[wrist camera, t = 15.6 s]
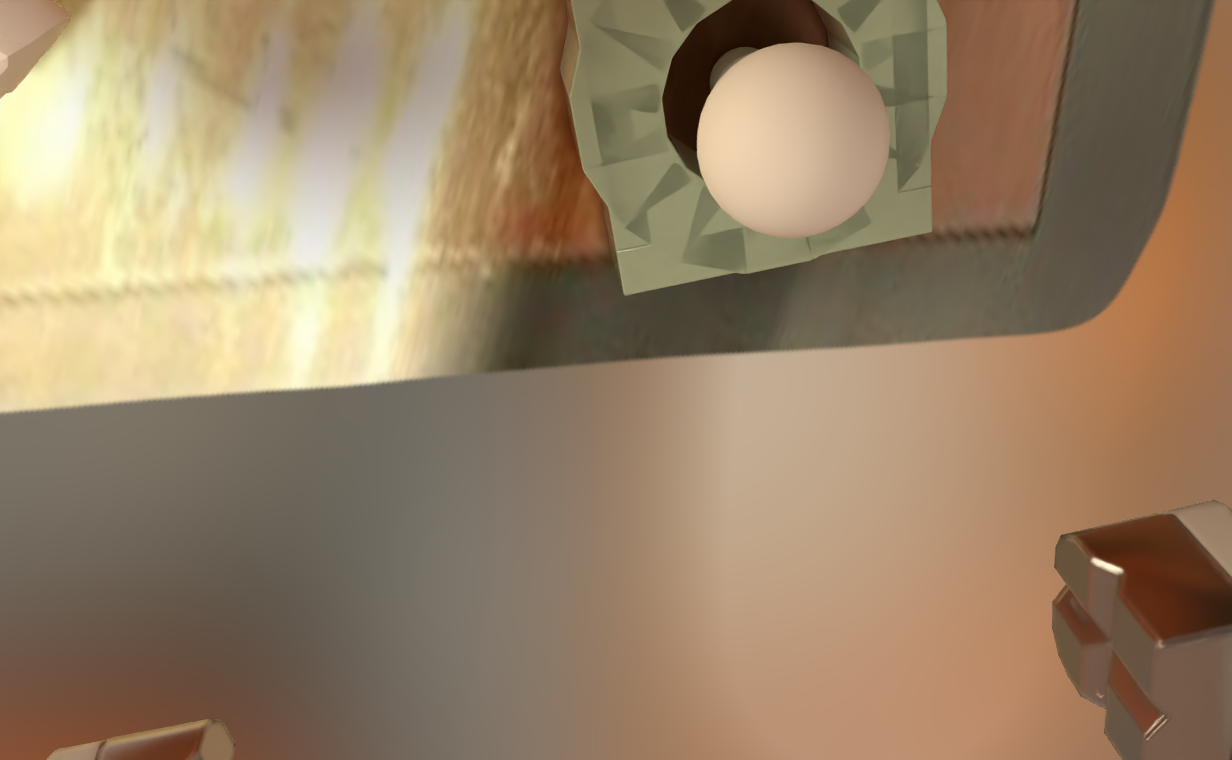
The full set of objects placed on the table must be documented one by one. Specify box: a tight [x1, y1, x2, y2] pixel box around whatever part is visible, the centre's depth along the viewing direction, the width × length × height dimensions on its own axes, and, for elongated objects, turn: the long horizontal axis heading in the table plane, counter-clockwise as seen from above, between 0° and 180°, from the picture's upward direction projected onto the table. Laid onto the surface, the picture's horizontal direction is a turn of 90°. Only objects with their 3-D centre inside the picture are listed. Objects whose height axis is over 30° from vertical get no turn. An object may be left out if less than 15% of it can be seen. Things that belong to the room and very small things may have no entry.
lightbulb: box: [697, 43, 890, 238], centre depth 38 cm, size 6×6×11 cm
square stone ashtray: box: [560, 0, 948, 295], centre depth 41 cm, size 13×13×4 cm
